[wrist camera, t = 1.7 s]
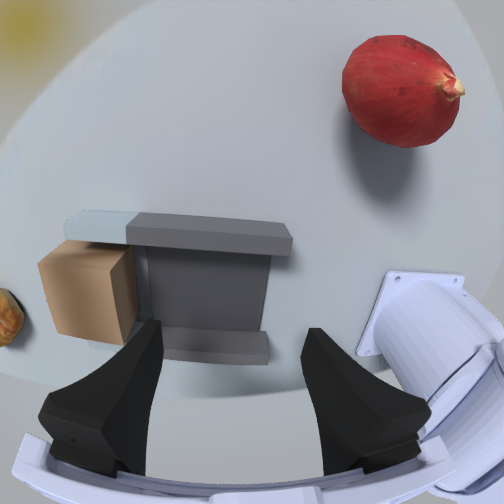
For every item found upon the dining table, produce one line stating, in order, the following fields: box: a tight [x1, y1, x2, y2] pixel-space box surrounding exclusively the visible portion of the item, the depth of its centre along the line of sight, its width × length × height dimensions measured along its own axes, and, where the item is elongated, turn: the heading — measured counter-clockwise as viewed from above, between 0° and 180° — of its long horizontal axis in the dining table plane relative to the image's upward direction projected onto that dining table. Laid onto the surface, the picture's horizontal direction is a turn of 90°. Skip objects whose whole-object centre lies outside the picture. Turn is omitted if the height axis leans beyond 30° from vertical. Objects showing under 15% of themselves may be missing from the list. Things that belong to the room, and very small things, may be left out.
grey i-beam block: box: [64, 210, 293, 365], centre depth 16 cm, size 12×9×2 cm
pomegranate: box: [342, 35, 465, 148], centre depth 10 cm, size 6×6×8 cm
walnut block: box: [38, 240, 140, 346], centre depth 15 cm, size 5×5×4 cm
